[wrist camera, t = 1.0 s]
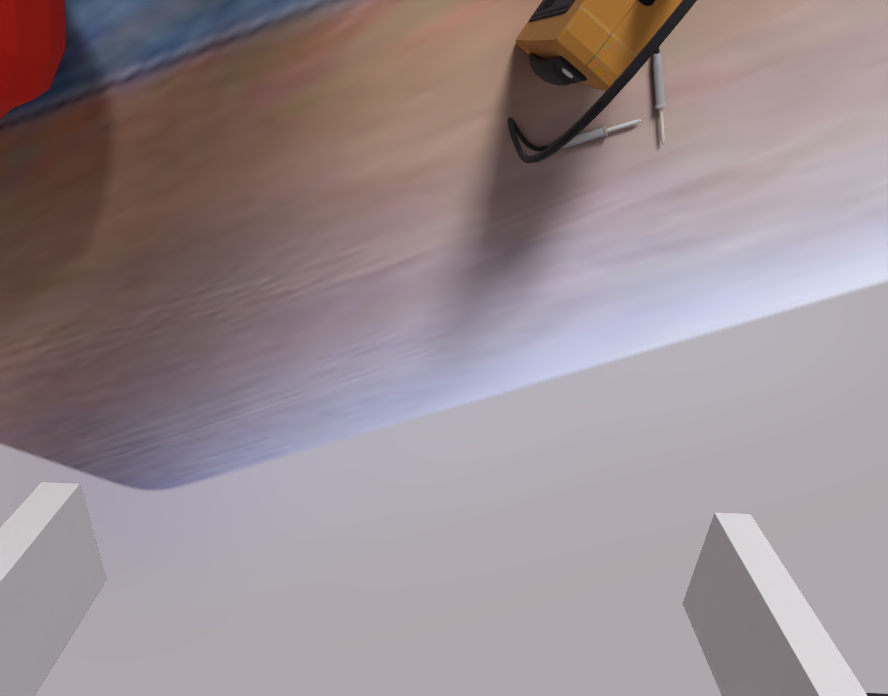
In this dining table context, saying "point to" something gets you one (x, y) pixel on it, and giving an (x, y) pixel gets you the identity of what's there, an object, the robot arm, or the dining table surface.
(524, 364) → the dining table surface
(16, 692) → the robot arm
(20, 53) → the tomato
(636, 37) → the multimeter
